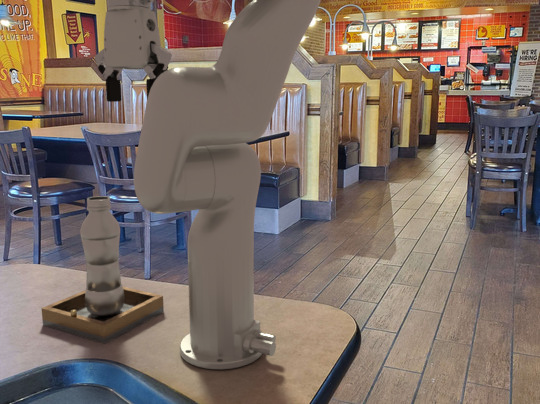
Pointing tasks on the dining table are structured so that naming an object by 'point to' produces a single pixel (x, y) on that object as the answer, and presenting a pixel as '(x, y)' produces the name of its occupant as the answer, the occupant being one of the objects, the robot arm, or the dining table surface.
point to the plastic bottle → (102, 258)
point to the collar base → (102, 327)
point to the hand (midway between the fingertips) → (133, 101)
